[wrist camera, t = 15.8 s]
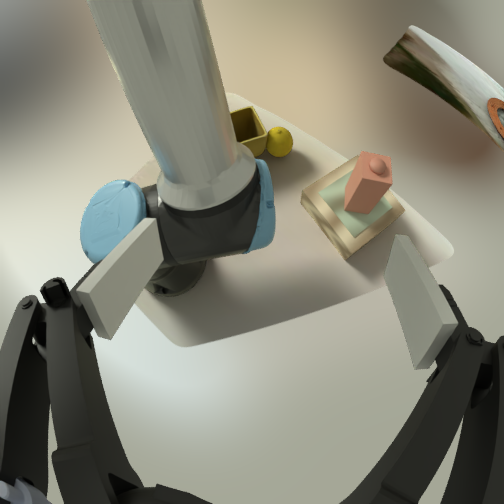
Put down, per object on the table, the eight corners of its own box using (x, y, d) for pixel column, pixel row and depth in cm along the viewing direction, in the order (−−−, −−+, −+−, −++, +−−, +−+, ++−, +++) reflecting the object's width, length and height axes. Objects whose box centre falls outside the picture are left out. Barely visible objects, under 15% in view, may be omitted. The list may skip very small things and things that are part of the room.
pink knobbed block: (344, 210, 45) (363, 175, 33) (345, 187, 46) (362, 148, 34) (368, 214, 45) (393, 182, 33) (368, 191, 46) (391, 155, 34)
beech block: (300, 203, 53) (302, 189, 47) (351, 169, 54) (358, 154, 48) (344, 260, 50) (352, 253, 44) (394, 221, 50) (405, 210, 44)
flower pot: (256, 131, 58) (252, 104, 49) (270, 160, 56) (268, 134, 47) (219, 143, 58) (210, 118, 49) (230, 174, 56) (222, 150, 47)
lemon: (290, 165, 55) (291, 143, 47) (264, 161, 56) (261, 139, 48) (293, 144, 56) (295, 121, 48) (268, 141, 57) (266, 118, 49)
